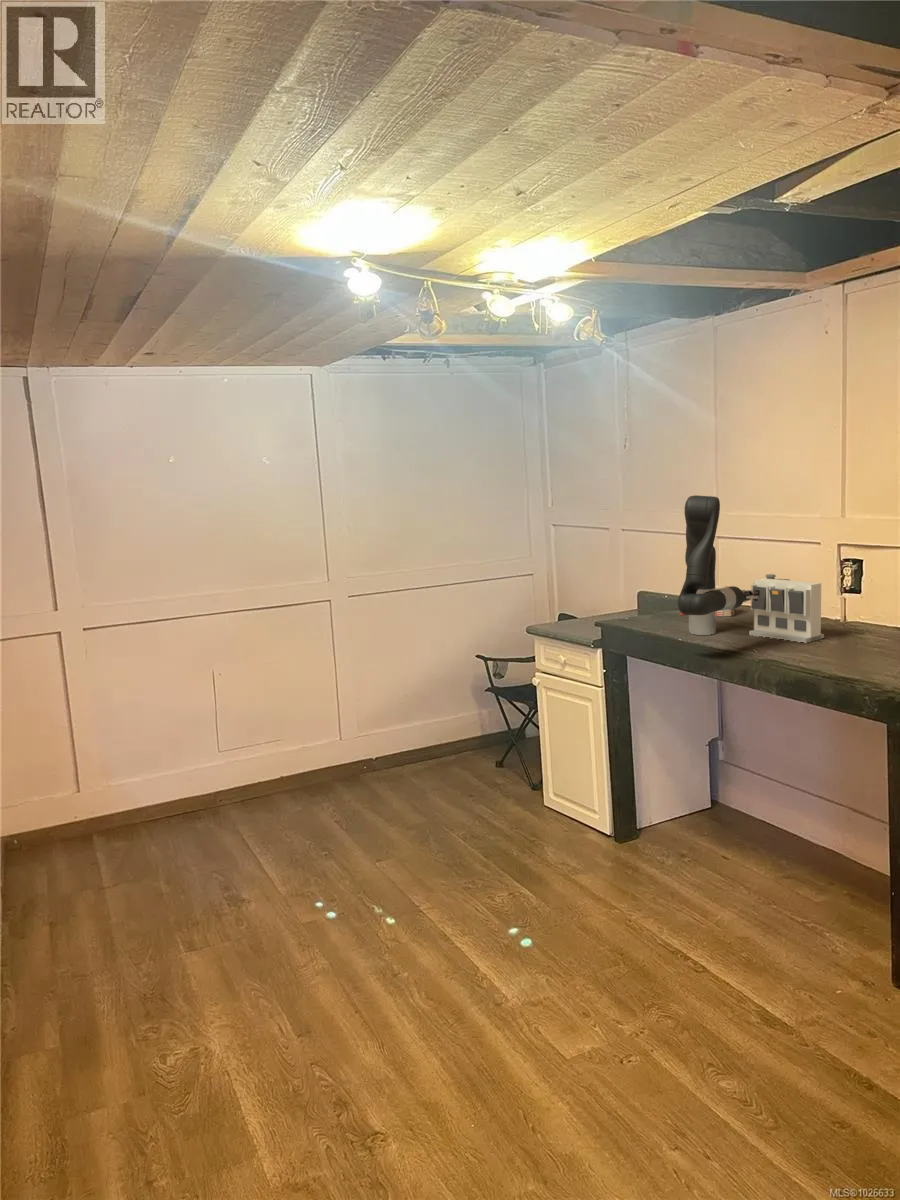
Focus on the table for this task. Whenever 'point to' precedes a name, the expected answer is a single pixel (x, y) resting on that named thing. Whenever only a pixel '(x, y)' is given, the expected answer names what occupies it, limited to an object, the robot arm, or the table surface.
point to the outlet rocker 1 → (777, 599)
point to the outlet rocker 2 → (796, 601)
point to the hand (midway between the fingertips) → (757, 592)
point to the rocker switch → (760, 599)
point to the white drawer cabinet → (789, 613)
